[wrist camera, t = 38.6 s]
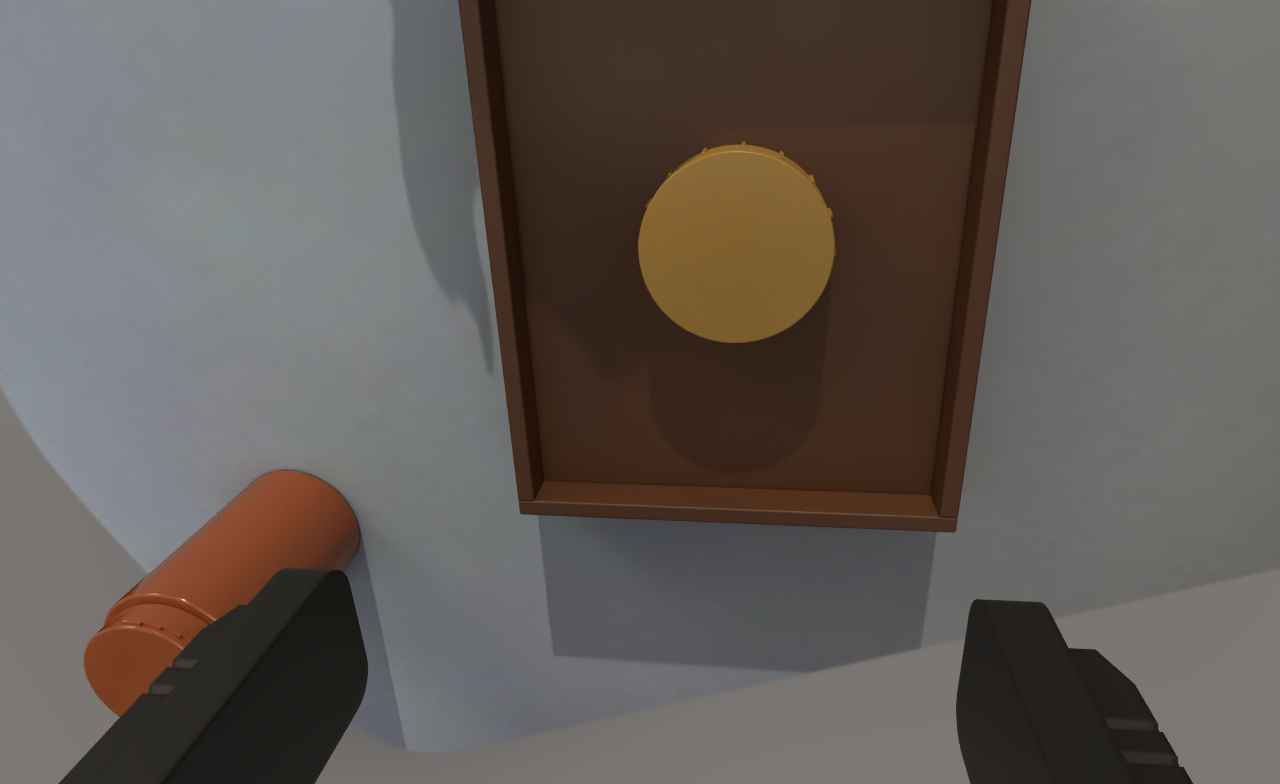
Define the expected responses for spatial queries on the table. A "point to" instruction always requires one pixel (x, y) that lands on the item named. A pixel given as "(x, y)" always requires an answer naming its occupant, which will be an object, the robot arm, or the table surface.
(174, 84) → the table surface
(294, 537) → the jar
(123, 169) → the table surface
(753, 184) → the jar lid
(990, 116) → the tray
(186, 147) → the table surface
